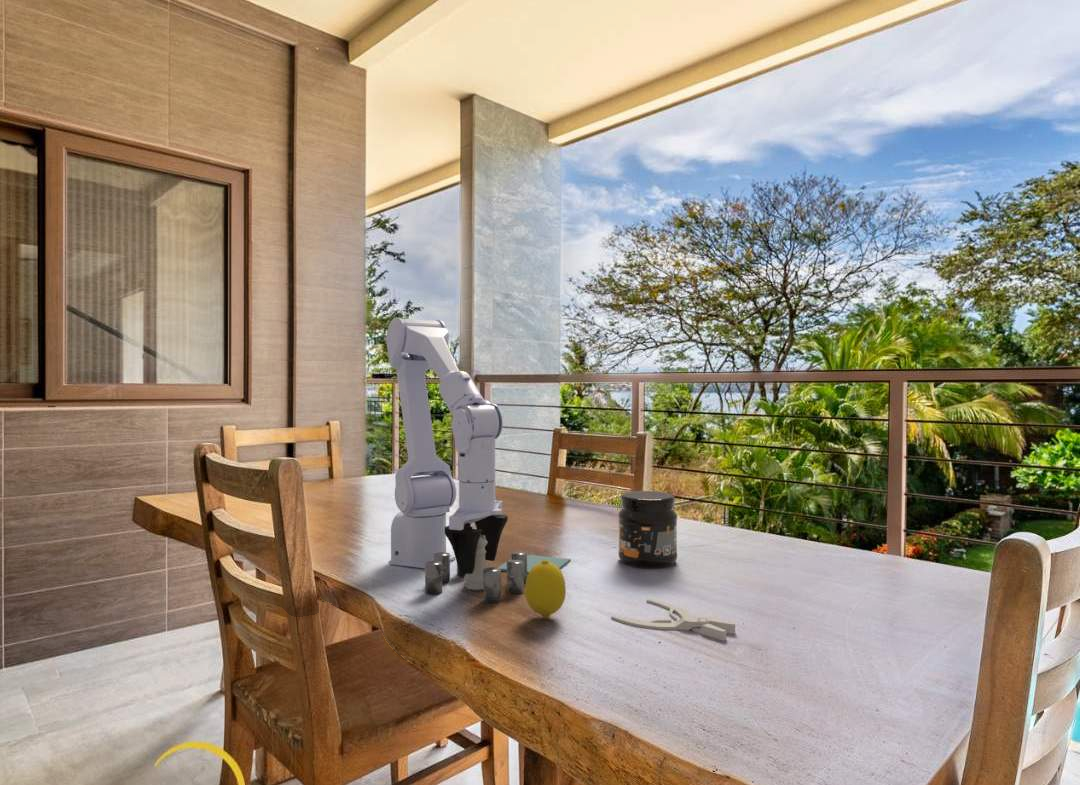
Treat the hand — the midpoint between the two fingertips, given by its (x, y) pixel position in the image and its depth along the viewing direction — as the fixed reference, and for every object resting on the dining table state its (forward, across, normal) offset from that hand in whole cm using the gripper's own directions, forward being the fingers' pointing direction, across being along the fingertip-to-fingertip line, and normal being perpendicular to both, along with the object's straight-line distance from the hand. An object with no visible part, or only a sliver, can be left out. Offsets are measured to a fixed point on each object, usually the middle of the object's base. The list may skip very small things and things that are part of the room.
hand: (477, 566), depth 102 cm
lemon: (+3, -9, -15) cm, 18 cm away
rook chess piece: (+3, 0, 0) cm, 3 cm away
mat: (+3, +14, -4) cm, 15 cm away
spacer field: (+3, 0, 0) cm, 3 cm away
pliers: (+4, -4, -32) cm, 33 cm away
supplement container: (+3, +24, -22) cm, 33 cm away
